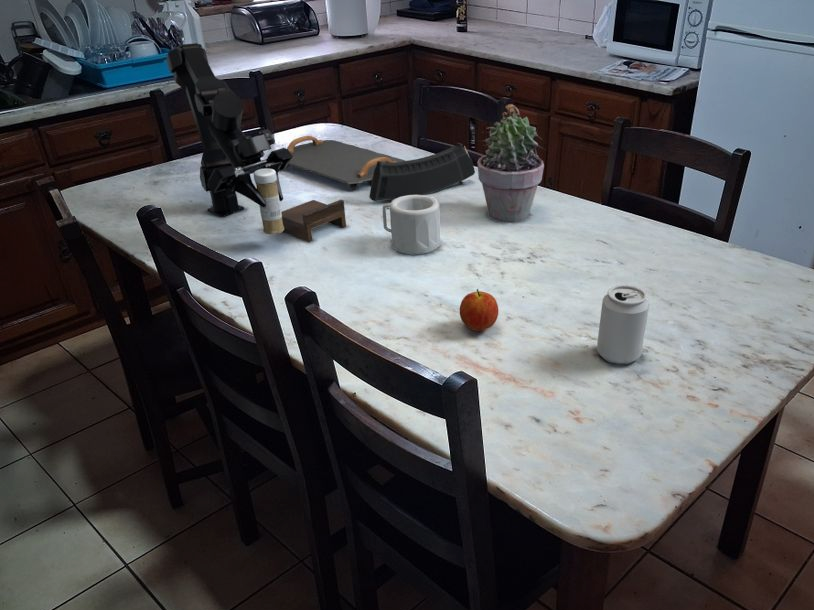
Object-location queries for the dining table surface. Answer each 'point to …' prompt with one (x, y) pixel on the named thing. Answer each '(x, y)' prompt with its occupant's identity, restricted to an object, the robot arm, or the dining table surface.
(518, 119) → the potted plant
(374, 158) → the serving tray
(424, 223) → the mug
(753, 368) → the dining table surface
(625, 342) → the can
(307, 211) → the shelf
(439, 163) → the magazine
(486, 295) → the fruit
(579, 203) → the dining table surface
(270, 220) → the sprinkles bottle
